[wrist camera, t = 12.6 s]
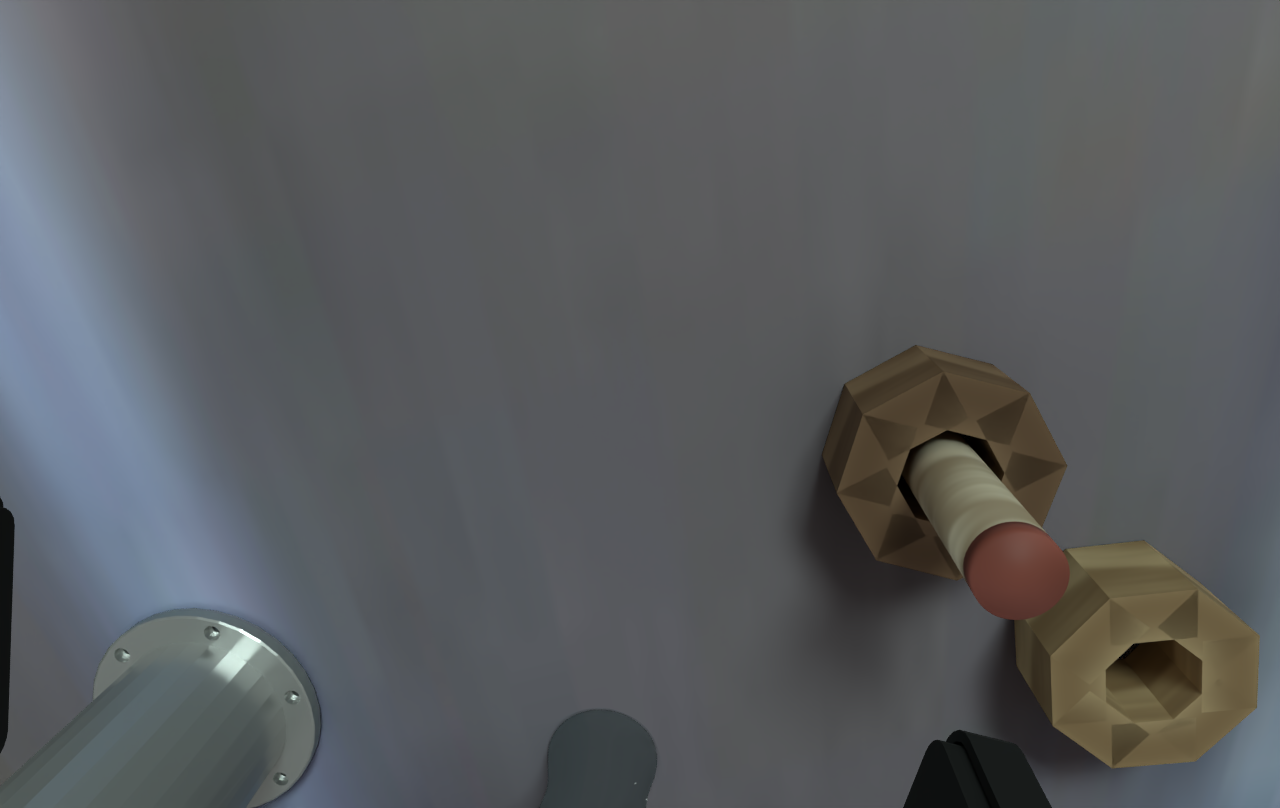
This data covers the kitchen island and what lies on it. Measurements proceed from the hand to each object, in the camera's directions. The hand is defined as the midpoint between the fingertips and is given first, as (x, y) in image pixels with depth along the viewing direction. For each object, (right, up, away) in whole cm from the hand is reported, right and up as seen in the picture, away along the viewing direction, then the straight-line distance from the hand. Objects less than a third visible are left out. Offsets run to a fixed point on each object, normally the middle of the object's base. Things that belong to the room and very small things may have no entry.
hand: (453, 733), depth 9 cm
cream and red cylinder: (+16, +1, +34) cm, 38 cm away
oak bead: (+26, -8, +36) cm, 45 cm away
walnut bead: (+16, +1, +34) cm, 38 cm away
